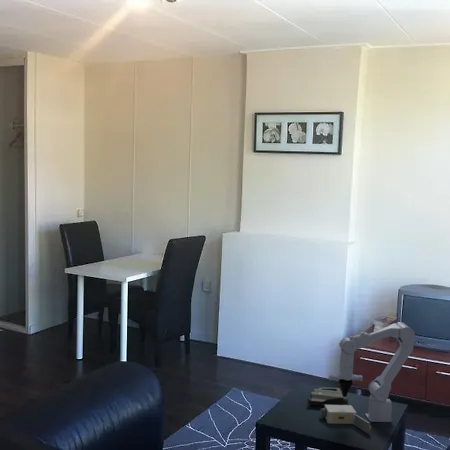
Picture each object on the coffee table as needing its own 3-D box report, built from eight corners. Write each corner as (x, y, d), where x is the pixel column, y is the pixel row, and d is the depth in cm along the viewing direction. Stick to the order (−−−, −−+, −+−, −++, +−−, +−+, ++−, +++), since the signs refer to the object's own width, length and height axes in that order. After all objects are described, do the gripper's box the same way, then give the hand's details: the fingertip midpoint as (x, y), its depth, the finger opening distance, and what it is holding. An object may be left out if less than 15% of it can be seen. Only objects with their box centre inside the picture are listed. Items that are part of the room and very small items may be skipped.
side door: (351, 423, 259) (352, 413, 258) (354, 423, 260) (355, 413, 259) (367, 433, 250) (368, 423, 249) (370, 432, 250) (371, 422, 250)
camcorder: (351, 407, 278) (352, 396, 277) (308, 408, 274) (309, 397, 274) (338, 394, 294) (339, 384, 293) (297, 395, 290) (298, 385, 289)
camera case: (350, 416, 268) (351, 405, 267) (355, 424, 259) (356, 412, 259) (319, 415, 267) (320, 404, 266) (323, 423, 258) (324, 412, 258)
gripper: (332, 368, 259) (330, 399, 260) (365, 369, 260) (363, 399, 261) (328, 363, 266) (326, 393, 267) (360, 363, 267) (358, 393, 268)
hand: (344, 396), depth 264 cm, fingers closed
